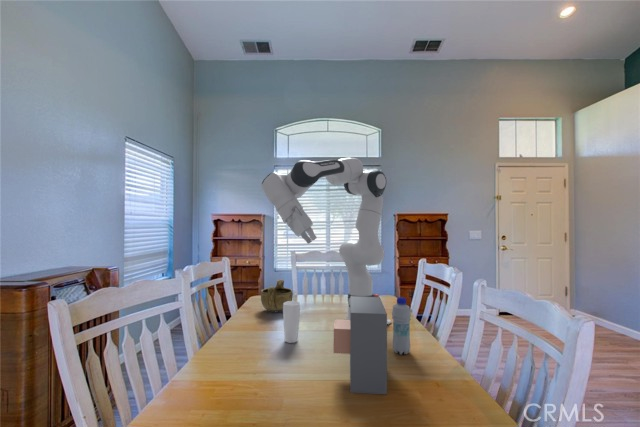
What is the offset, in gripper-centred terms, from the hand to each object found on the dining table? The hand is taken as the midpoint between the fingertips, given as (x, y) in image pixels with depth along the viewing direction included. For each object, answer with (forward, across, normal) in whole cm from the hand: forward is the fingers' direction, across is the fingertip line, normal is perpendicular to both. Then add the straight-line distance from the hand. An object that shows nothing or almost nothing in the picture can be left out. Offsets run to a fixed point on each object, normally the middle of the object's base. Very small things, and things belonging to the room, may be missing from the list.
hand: (312, 241), depth 118 cm
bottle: (+52, 0, -3) cm, 52 cm away
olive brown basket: (+19, +62, +24) cm, 69 cm away
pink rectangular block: (+32, -14, +15) cm, 38 cm away
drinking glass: (+28, +18, +27) cm, 42 cm away
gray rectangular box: (+44, -14, +14) cm, 48 cm away
